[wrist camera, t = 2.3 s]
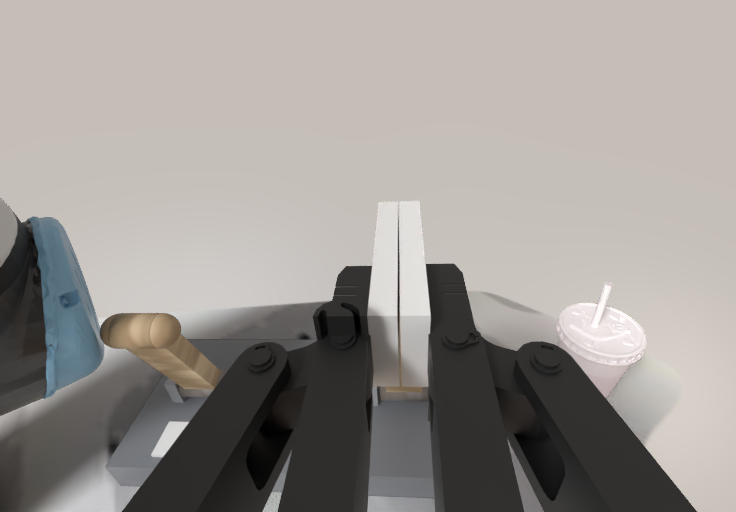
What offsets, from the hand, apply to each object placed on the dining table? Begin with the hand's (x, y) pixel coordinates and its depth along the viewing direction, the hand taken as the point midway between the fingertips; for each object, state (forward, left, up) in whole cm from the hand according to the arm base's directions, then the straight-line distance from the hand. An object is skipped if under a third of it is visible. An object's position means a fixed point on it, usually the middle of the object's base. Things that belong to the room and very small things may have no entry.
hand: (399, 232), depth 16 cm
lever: (-18, +9, -22) cm, 29 cm away
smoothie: (+16, +10, -25) cm, 32 cm away
